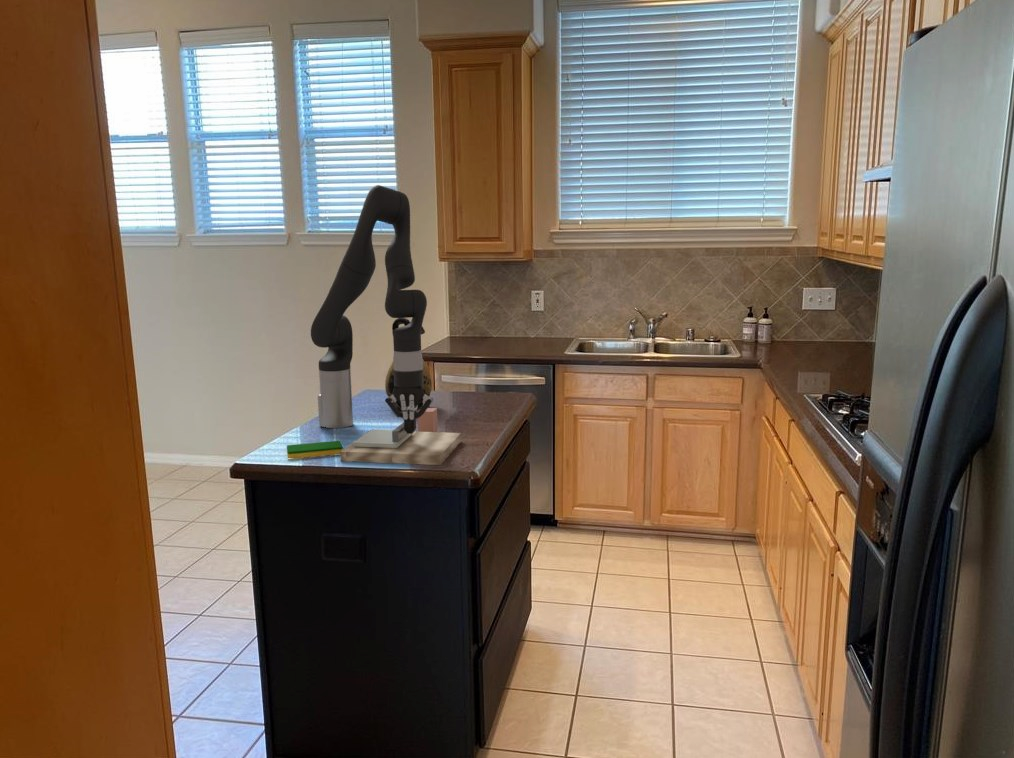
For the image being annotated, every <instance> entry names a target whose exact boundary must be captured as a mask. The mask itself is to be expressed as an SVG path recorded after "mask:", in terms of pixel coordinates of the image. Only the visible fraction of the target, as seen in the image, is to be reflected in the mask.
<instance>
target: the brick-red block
mask: <svg viewBox="0 0 1014 758" xmlns="http://www.w3.org/2000/svg"><path fill="white" fill-rule="evenodd" d="M438 423H439V422H438V408H437V407H428V408H427V410H426V411H425V412H424V414H423V415H422V416H421V417H419V418H417V432H437V431H438V432H439V430H438V429H439V427H438V426H439V425H438Z"/></svg>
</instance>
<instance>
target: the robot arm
mask: <svg viewBox="0 0 1014 758" xmlns="http://www.w3.org/2000/svg"><path fill="white" fill-rule="evenodd" d="M377 222H382V223H385V224H388V225H391V226H392V227H393V229H394V236H393V239H392V240H391V242H390V244H389V245H388V247H387V249H386V251H385V255H384V265H385V271H386V277H387V287H386V289H387V290H386V294H385V295H386V296H385V300H384V309H385V312H386V314H387V315H388V316H389V317H391V318H393V319H398V318H406V319H408V318H409V319H411V318H412V319H411V321H410V323H409V324H408V325H406V326H404V325H403V326H399V328H396V329H395V330H394V332H393V333H392V339H393V342H392V343H393V357H392V359H393V360H392V362H393V368H394V390H393V394H392V395H391V396H390V397H388V396H387V398H385V400H384V401H385V404H386V405H387V406H388V407H389V408H390V410H391V411H392V412H393V413H394V414H395V416H396V417H397V418H401V419H403V422H404V430H405V431H406V432H407V433H408V434H412V433H414V432H416V430H417V419H418V418H419V417H421V416H422V415H423V414H424V412H425V411H426V410H427V408H430V406H431V405H432V404H433V402H434V398H433V397H430V396H429V397H428V396H427V395H426V394H425V390H424V387H423V360H424V359H422V358H423V353H422V335H421V329H422V327H423V323H424V317H425V314H426V311H427V306H428V302H427V301H428V300H427V296H426V294H425V293H424V292H423V290H420V289H408V288H410V287H411V286H412V285H414V283H415V280H416V275H415V270H414V269H415V268H414V266H413V265H414V264H413V258H412V252H411V206H410V200H409V197H408V196H407V194H405V193H403V192H401V191H400V190H396V189H393V188H390V187H387V186H383V185H379V184H377V185H374V186H372V187H371V188H370V190H369V191H368V193H367V194H366V196H365V199H364V202H363V206H362V208H361V212H360V214H359V217H358V221H357V224H356V227H355V230H354V232H353V235H352V237H351V240H350V242H349V245H348V247H347V249H346V251H345V253H344V256H343V258H342V260H341V263H340V265H339V267H338V270H337V273H336V275H335V278H334V280H333V282H332V285H331V287H330V288H329V291H328V293H327V294H326V295H327V296H326V297H325V299H324V302H323V304H322V305H321V307H320V309H319V310H318V312H317V314H316V316H315V318H314V319H313V321H312V324H311V327H310V338H311V341H312V343H313V344H314V345H315V346H316V347H318V348H328V349H327V352H326V353H325V354H324V355H323V356H322V357H321V358H320V359H319V360H318V377H319V394H318V395H317V405H318V406H317V407H318V426H319V427H320V426H322V428H325V427H326V428H327V429H342V428H343V429H344V428H348V427H350V426H351V427H352V426H353V425H354V415H353V414H354V413H353V412H354V411H353V394H352V393H353V392H352V391H353V390H352V389H353V388H352V375H351V374H352V372H351V362H352V359H353V353H354V352H353V350H354V349H353V346H354V345H353V344H354V343H353V342H354V341H353V336H354V335H353V327H352V323H351V322H350V319H349V318H348V317H347V316H346V315H344V314H345V312H346V311H347V309H348V308H349V307H350V306H351V305H352V304H353V303H354V302H355V301H356V300H357V299H358V298H359V297H360V296H361V295H362V294H363V293H364V292H365V290H366V289H367V287H368V286H369V284H370V282H371V279H372V277H373V275H374V272H375V270H376V268H377V265H376V264H377V262H376V261H377V260H376V256H375V255H376V254H375V251H374V246H373V239H372V238H373V232H374V228H375V226H376V223H377ZM395 398H396V399H397V401H398V402H399V404H400V405H401V408H402V409H401V408H400V407H399V406H398V404H397V403H396V399H395ZM422 399H423V406H422V407H421V409H420V410H417V406H418V404H419V403H420V401H421V400H422Z"/></svg>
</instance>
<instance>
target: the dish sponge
mask: <svg viewBox="0 0 1014 758" xmlns="http://www.w3.org/2000/svg"><path fill="white" fill-rule="evenodd" d="M343 449H344V446H343V445H342V442H341V440H331V441H321V442H320V441H319V442H308V443H300V444H299V443H298V444H288V445H286V455H287V454H288V455H287V459H288V458H300V459H303V458H302V457H310V458H314V457H313V456H320V457H323V456H322V455H330V456H336V455H335V454H340V451H342V450H343Z"/></svg>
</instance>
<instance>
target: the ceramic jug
mask: <svg viewBox="0 0 1014 758" xmlns="http://www.w3.org/2000/svg"><path fill="white" fill-rule="evenodd" d="M410 322H411V321H410V320H409V319H408V318H395V320H394V321H393V323H392V326H391V329H392V334H393V332H394V330H395V329H396V328H399V327H400V325H403V326H406V325H408V324H409V323H410ZM425 333H426V331H425V329H424V327H423V326H422V329H421V336H422V335H424V334H425ZM422 359H423V357H422ZM384 386H385V393H386V395H387V398H388V397H390V396H391V395H392V394H393V390H394V368H393V361H392V362H391V364H390V366H389V368H388V370H387V373H386V376H385V385H384ZM423 387H424V390H425V394H426V395H427V396H428V397H430V396H431V392H432V390H433V389H432V388H433V382H432V377H431V373H430V369H429V367H428V365H427V364H426V362H425V360H424V359H423ZM395 399H396V398H395ZM396 403H397V404H398V406H399V407H400V408H401V405H400V404H399V402H398V401H397V399H396ZM423 405H424V404H423V399H422V400H421V401H420V403H419V404H418V406H417V411H419V410H420V409H421V407H422V406H423ZM401 409H402V408H401Z"/></svg>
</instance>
